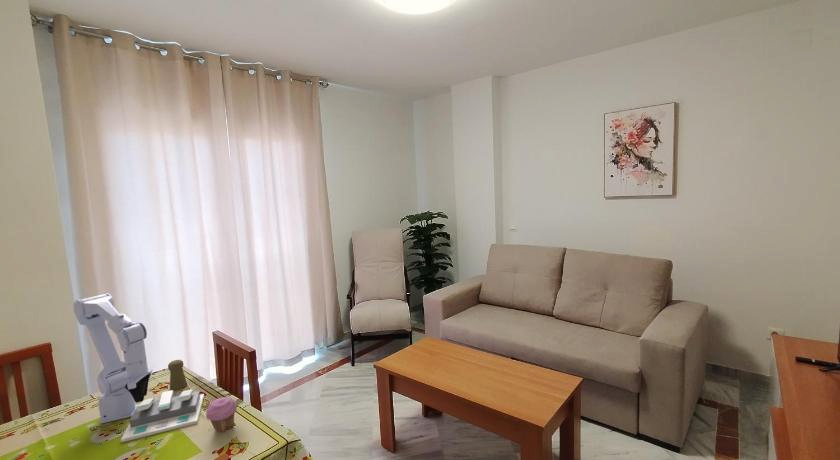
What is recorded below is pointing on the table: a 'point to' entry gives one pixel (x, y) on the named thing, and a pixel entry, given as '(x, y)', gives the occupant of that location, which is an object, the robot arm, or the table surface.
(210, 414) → the cupcake
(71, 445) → the table surface
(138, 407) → the left switch
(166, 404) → the middle switch
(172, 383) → the cork
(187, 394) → the right switch
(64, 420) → the table surface
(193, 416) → the switch board
